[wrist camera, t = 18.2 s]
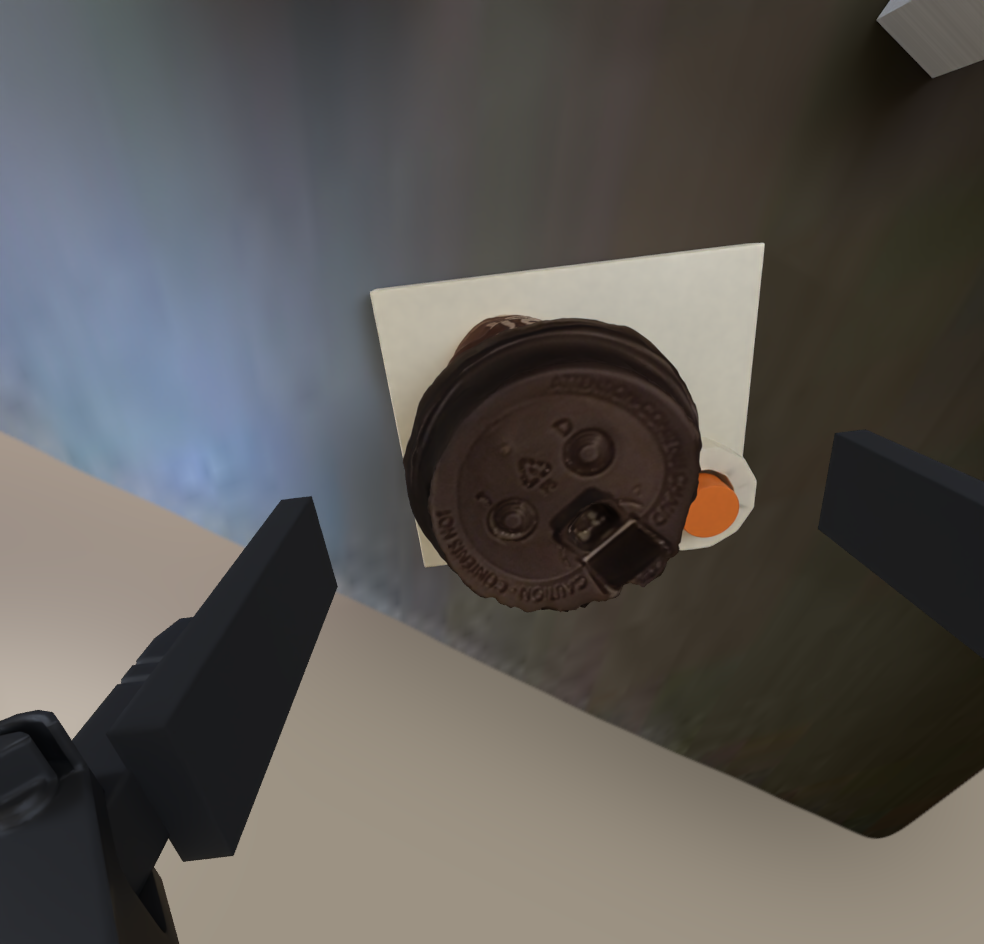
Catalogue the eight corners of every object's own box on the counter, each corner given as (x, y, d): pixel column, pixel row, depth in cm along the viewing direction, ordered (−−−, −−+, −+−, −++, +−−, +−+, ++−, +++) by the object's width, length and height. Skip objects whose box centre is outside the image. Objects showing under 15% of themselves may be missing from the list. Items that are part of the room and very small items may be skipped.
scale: (749, 243, 24) (787, 242, 21) (724, 516, 30) (750, 542, 27) (374, 289, 24) (363, 294, 21) (426, 554, 30) (422, 585, 27)
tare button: (727, 468, 26) (742, 481, 24) (722, 519, 27) (737, 534, 26) (669, 476, 26) (681, 489, 24) (667, 526, 27) (679, 541, 26)
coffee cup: (598, 455, 26) (713, 624, 14) (441, 474, 26) (427, 660, 14) (595, 278, 23) (744, 311, 11) (414, 300, 23) (365, 355, 11)
